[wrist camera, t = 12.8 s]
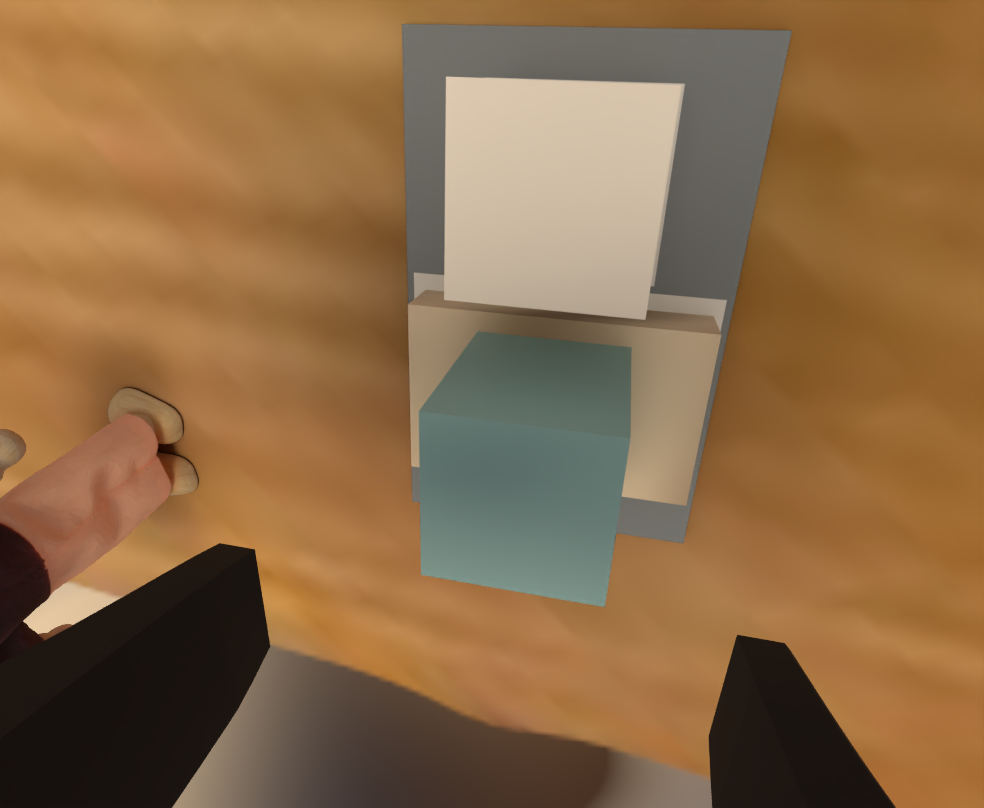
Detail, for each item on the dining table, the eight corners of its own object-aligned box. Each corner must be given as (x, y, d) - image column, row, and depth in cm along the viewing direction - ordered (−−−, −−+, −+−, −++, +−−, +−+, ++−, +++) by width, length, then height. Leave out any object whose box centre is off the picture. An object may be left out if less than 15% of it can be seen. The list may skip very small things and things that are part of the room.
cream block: (667, 95, 14) (681, 85, 10) (642, 264, 16) (645, 319, 12) (500, 88, 15) (445, 76, 11) (493, 252, 17) (444, 299, 12)
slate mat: (788, 32, 14) (792, 30, 14) (682, 537, 20) (683, 543, 19) (406, 25, 15) (402, 23, 15) (415, 496, 21) (412, 501, 21)
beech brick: (714, 315, 16) (721, 335, 15) (682, 476, 19) (685, 506, 17) (425, 289, 18) (407, 304, 16) (427, 441, 20) (411, 466, 18)
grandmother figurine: (75, 366, 22) (-509, 623, 11) (163, 356, 21) (-378, 627, 10) (156, 542, 25) (-236, 890, 14) (237, 541, 24) (-113, 913, 13)
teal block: (631, 347, 16) (630, 438, 11) (612, 481, 17) (605, 607, 13) (477, 331, 16) (418, 411, 12) (473, 462, 18) (421, 575, 14)
